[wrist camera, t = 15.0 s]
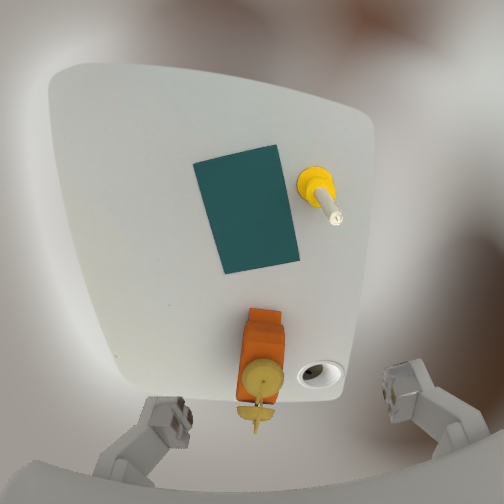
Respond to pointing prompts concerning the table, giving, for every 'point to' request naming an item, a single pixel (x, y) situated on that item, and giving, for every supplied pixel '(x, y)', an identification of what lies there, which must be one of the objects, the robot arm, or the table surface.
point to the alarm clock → (261, 364)
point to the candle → (320, 192)
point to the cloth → (248, 209)
